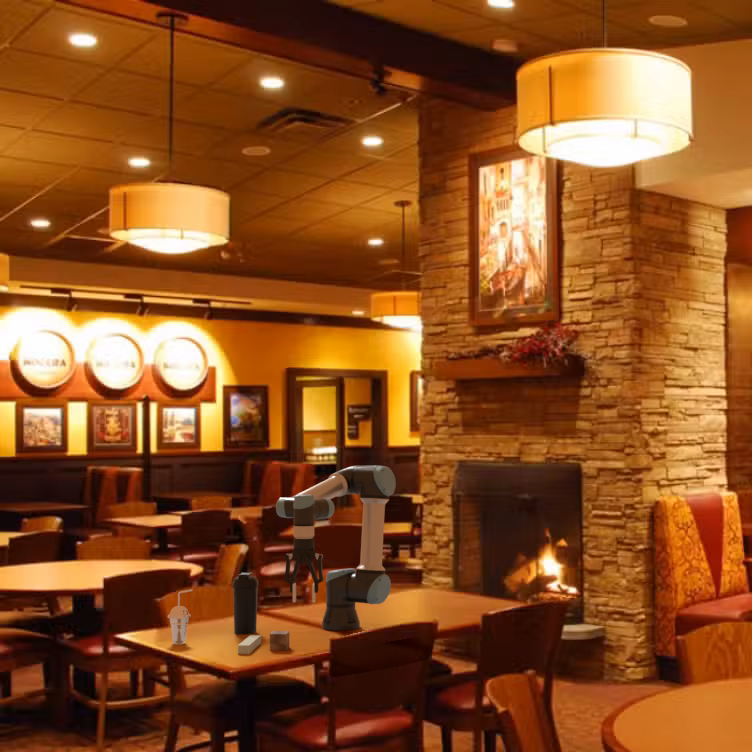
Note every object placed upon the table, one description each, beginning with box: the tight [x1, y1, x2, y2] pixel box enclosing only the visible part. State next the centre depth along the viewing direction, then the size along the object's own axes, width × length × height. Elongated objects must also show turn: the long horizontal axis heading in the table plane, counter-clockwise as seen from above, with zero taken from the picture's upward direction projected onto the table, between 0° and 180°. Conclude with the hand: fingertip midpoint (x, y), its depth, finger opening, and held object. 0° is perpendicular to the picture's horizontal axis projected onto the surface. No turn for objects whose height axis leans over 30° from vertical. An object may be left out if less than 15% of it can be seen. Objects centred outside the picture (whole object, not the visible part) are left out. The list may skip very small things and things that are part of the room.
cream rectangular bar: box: [237, 634, 262, 655], centre depth 404 cm, size 4×20×3 cm, turn 174°
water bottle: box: [231, 572, 259, 635], centre depth 437 cm, size 10×10×23 cm
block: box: [269, 630, 290, 652], centre depth 403 cm, size 6×6×6 cm
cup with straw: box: [167, 588, 194, 646], centre depth 415 cm, size 8×9×20 cm
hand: (304, 601), depth 403 cm, fingers open, 6 cm apart
